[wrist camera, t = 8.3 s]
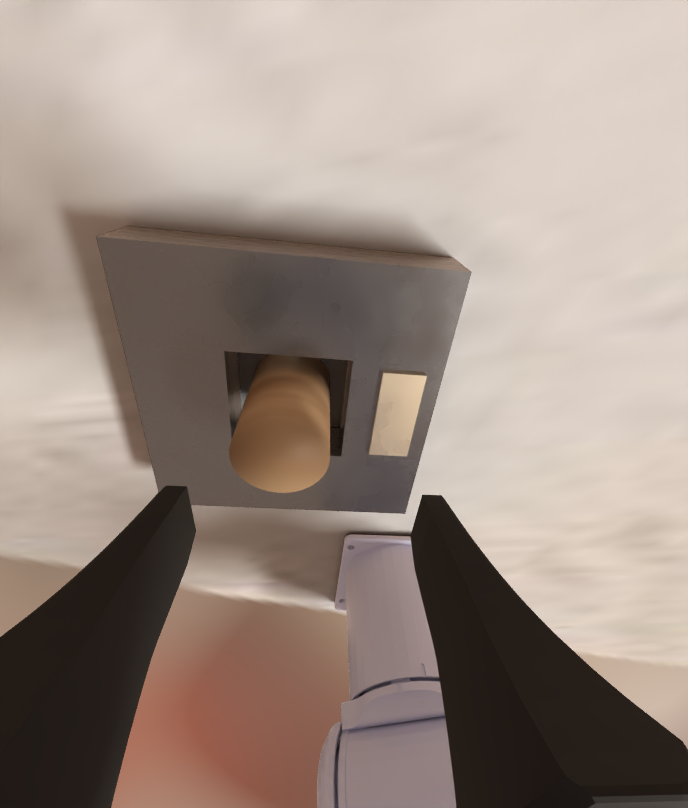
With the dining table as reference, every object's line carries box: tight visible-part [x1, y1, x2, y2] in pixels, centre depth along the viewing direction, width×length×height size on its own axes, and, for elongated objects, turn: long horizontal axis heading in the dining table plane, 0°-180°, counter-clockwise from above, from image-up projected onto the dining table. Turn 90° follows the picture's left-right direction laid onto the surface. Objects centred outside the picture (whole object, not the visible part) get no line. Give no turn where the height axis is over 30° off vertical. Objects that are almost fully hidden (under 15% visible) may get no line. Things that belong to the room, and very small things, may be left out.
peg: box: [229, 354, 330, 493], centre depth 17 cm, size 4×4×6 cm
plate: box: [96, 226, 471, 514], centre depth 19 cm, size 14×14×3 cm
